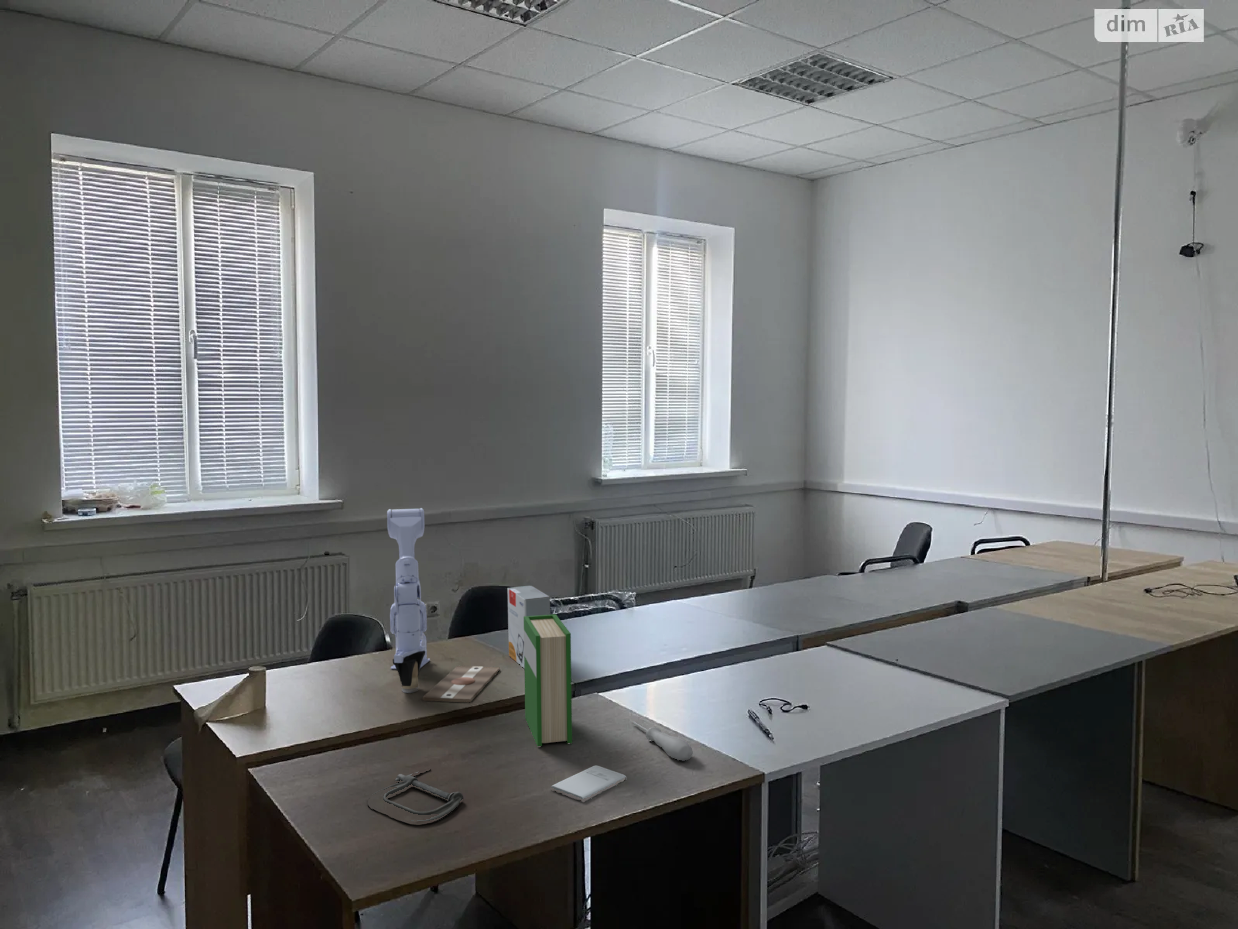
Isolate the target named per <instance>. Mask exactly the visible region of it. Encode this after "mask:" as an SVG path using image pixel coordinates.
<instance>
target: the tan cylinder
mask: <svg viewBox="0 0 1238 929" xmlns="http://www.w3.org/2000/svg"><path fill="white" fill-rule="evenodd" d="M418 691H419V676H418V663H417V662H415V665H414V668H413V673H412V683H411V686H402V685H401V692H402V693H404V694H411V693H415V692H418Z"/></svg>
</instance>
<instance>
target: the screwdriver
mask: <svg viewBox="0 0 1238 929" xmlns="http://www.w3.org/2000/svg"><path fill="white" fill-rule="evenodd" d="M630 722H631V723H632V724H633V725H634V726H636V727H638V728H640V729H642V730H643V731H644V732H645V737H646V738H645V739H646V740H648V741H649V740H651V741H654V742H653V743H655V744H656V745H657V746H658V747H660V748H661V747H662V748H661V749H663V751H664V752H665V753H666V755H668V756H669V757H670V756H671V757H670V758H672V759H673V758H675V759H677V760H676V761H679V760H682V761H681V762H685V760H686V761H688V760H690V759H692V757H693V752H694V750H693V747H692V746H691V745H690V743H688V741H686V740H685V739H683V738H682V737H678V736H672V735H670V734H668V733H666V732H664V731H661V729H660V728H659V727H657V726H651V727H649V728H646V727H644V725H643V726H642V725H641V724H639V723H637V722H636V721H634V720H631V721H630ZM675 759H674V760H675Z"/></svg>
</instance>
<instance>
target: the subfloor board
mask: <svg viewBox="0 0 1238 929" xmlns="http://www.w3.org/2000/svg"><path fill="white" fill-rule="evenodd" d="M498 671H499V672H500V671H501V668H500V667H498V666H497V667H494V666H482V665H481V666H479V665H478V666H477V665H472V666H469V665H467V666H466V665H456V666H455V667H454V668H453V669H452V670H451V671H450V672H449V673H448V674H446V675H445V676H444V677H443V678H441V680H440V681H439V682H438V683H437V684H435V685H434V686H433V687H432V688H431V689H430V690H428V692H427V693H425V694H424V695H423V696H422V702H423V701H425V702H426V701H427V702H449V703H450V702H452V703H469V702H470V703H471V702H472V701H473V700H474V699H475V698H476V697H477V696H478V694H479V693H480V692H482V691H483V689H484V688H485V687H486V686H487V685H488V684H489V683H490V682H491V681H492V679H493V678H494V677H495V676H496V675H497V674H498V673H499V672H498ZM497 672H498V673H497ZM495 674H496V675H495ZM489 681H490V682H489ZM488 682H489V683H488ZM487 683H488V684H487ZM486 684H487V685H486ZM485 685H486V686H485ZM476 695H477V696H476Z"/></svg>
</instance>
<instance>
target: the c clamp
mask: <svg viewBox="0 0 1238 929" xmlns="http://www.w3.org/2000/svg"><path fill="white" fill-rule="evenodd" d="M418 772H419V771H417V772H415V773H418ZM412 774H413V773H411V774H407V775H406V774H405V775H404V774H402V773H399V774H398V775H397V776H396V778H395V779H394V782H395V781H400V780H401V781H403V782H399V783H394V784H391V785H388V786H386V787H384V788H382V789H381V790H385V789H387V788H389V787H397V788H394V789H392V790H390V791H388V792H387V793H385V794H384V796H383V800H384V801H385V802H387V803H389V804H393V805H394V806H396V807H398V808H401V809H404V810H405V811H408V812H410V813H413V814H418V815H431V814H439V815H437V816H434V817H431V818H430V819H426V820H417V821H430V820H434V819H437V818H440V817H442V816H444V815H445V814H448V813H449V812H451V811H453V810H454V809H455V808H456V807H457V808H458V807H459V805H460V804H461V803H460V801H461V800H462V799H463V800H464V795H463V793H462V792H461V791H453V792H451V793H449V792H447V791H445V790H442V789H439V788H436V787H434V786H431V785H429V784H426V783H424V782H421V781H419V779H418V778H417V777H416V776H415V777H413V776H411V775H412ZM411 784H412V785H413V786H416V787H420V788H422V789H423V790H427V791H430V792H431V793H433V794H437V795H439V796H440V797H443V798H445V799H448V801H447V802H446V803H444V804H443V805H441V806H439V807H436V808H435V809H431V810H427V811H417V810H414V809H412V808H409V807H407V806H404V805H402V804H400V803H397V802H395V801H392V800H390V799H386V797H387V796H388V795H389V794H393V793H395V792H397V791H399V790H402V789H404V788H405V787H408V786H409V785H411ZM379 791H380V790H377V791H375V792H374V793H373V794H376V793H377V792H379ZM459 803H460V804H459ZM457 808H456V809H457ZM456 809H455V810H456ZM455 810H454V811H455ZM454 811H453V812H454ZM451 813H452V812H451ZM411 821H414V820H411Z"/></svg>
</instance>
